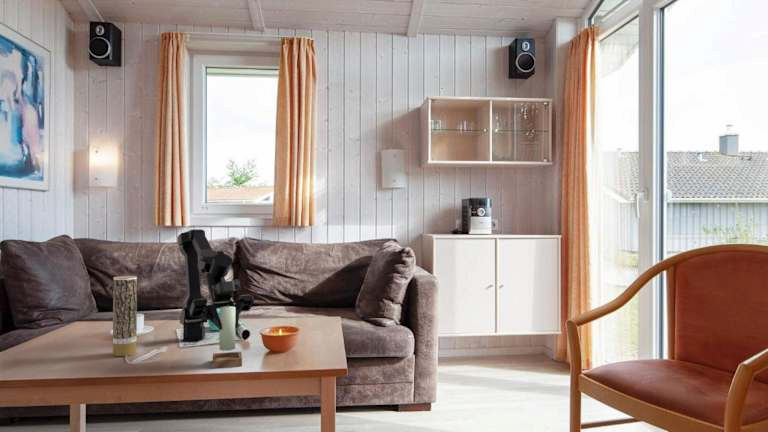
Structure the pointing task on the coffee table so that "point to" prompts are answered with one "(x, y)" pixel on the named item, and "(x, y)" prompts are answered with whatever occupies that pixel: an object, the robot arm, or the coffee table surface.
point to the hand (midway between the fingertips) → (229, 327)
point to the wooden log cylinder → (124, 315)
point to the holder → (227, 359)
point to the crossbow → (147, 356)
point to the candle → (227, 328)
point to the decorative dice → (213, 323)
